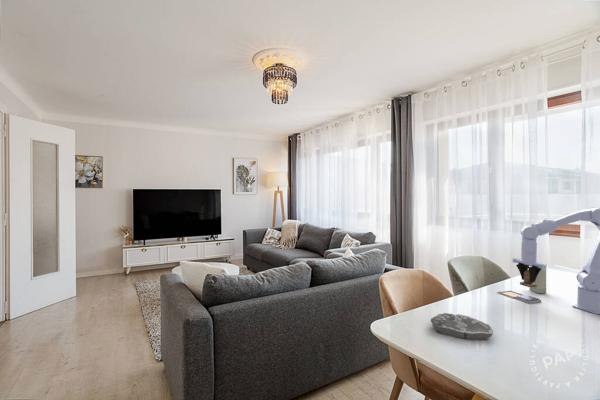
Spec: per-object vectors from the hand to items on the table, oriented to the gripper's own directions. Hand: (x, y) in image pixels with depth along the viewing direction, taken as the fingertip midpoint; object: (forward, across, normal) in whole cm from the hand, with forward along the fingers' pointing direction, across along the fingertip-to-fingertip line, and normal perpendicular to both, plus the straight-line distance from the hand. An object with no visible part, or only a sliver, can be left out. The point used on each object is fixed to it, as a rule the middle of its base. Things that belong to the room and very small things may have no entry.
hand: (528, 280), depth 142 cm
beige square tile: (+9, -8, 0) cm, 12 cm away
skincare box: (+9, -9, +18) cm, 22 cm away
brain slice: (+10, +18, -56) cm, 60 cm away
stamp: (+2, 0, 0) cm, 2 cm away
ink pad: (+9, 0, 0) cm, 9 cm away
